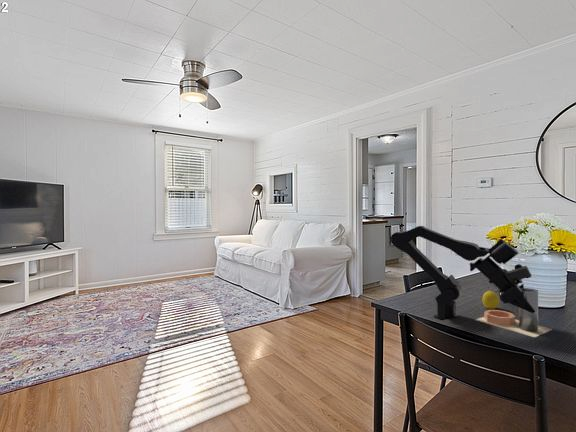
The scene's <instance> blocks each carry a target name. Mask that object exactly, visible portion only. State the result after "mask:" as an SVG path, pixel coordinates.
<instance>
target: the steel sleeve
mask: <svg viewBox="0 0 576 432" xmlns="http://www.w3.org/2000/svg"><path fill="white" fill-rule="evenodd" d="M520 289H521V290H523V296H524V298H525V299H526V300H527V301H528V302H529V304H530V305H531V306H532V307H533V309H534V310H535V312H534V313H531V312H528V311H526V310H524V309H522V308H519V307H518V320H519V328H520V329H522V330H524V331H529V332H537V331H538V326H539V289H535V288H531V287H524V288H520Z"/></svg>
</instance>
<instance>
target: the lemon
mask: <svg viewBox="0 0 576 432" xmlns="http://www.w3.org/2000/svg"><path fill="white" fill-rule="evenodd" d="M499 299H500V297H499V296H498V294H497V293H495V292H494V291H493V290H488V291H486V292H484V293H483V295H482V301H481V302H482V304H483V306H484V307H485V308H487V309H488V310H496V308H497V309H498V307H499V304H500V300H499Z"/></svg>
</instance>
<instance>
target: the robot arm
mask: <svg viewBox="0 0 576 432" xmlns="http://www.w3.org/2000/svg"><path fill="white" fill-rule="evenodd" d="M419 237H420V238H422V239H424V240H427V241H429V242H431V243H434V244H437V245H439V246H441V247H443V248H446V249H449V250H450V251H452V252H453V253H454V254H456V255H457V256H458V257H460V258H462V259H463V260H464V261H465V260H466V261H469V266H470V267H469V271H470V272H473V271H475V270H477V271H479V273H481V274H482V275H483V276H484V277H485V278H486V279H487V280H488V283H489V284H493V286H494V287H495V288H497V289H498V292H499V293H500V294H499V299H500V300H499V301H501V302H502V303H503V304H504V305H505V304H510V305H513V306H514V307H517V308H518V309H519V308H522V309H524V310H526V311H528V312H531V313H534V312H535V310H534V309H533V307H532V306H531V305H530V304H529V302H528V301H527V300H526V299H525V298H524V296H523V290H521V289H520V288H525V287H524V286H525V285H524V283H523V281H524V279H529V278H532V273H531V272H530V269H529V268H528V266H527V265H524V266H523V265H522V264H520V263H518V264H515V265H514V269H511V270H507V269H506V268H502V267H501V266H500V264H504V265H505V264H507V263H508V262H509V261H511V260H512V259H513V258H515V257H516V256H517V255H519V254H520V252H519V251H518V250H517V249H516V248H515V247H513V246H512V244H509V243H508V242H506V241H505V240H504V239H502V238H500V239H499V240H498V241H497V242H496V243H495V244H494V245H492V246H491V247H490V248H489V247H483V246H479V244H476V243H475V242H469V241H465V240H460V239H455V238H453V237H450V236H448V235H445V234H443V233H440V232H437V231H435V230H433V229H430V228H427V227H426V226H424V225H418V226H415V228H411V229H409V230H405V231H396V232H394V233H392V235H391V236H390V243H391V244H392V245H393V246H394V247H395V248H397V249H398V250H399V251H401V252H402V253H405V254H407V255H408V256H409V257H410V259H412V260H413V261H414V263H416V264H417V265H418V267H420V269H421V270H423V272H424V273H426V275H427V276H428V277H429V278H431V280H432V281H433V282H434V283H435V285H436V288H437V289H438V290H439V294H438V295H437V296H435V301H436V304H437V305H436V307H437V308H436V309H437V310H436V311H437V314H435V315H433V318H436V319H439V320H443V321H446V320H448V319H455V317H457V311H456V310H457V305H456V300H457V299H458V298H459V297H460V296H461V295H462V293H463V287H462V285H461V282H460V281H458V280H457V279H456V277H454V275H453V274H450V275H449V276H448V275H446V274H445V273H444V272H442V270H440V269H439V268H438V267H437V266H436V265H435V264H434V263H433V262H432V261H431V260H430V258H428V257H427V256H426V255H425V254H424V253H423V252H422V251H421V250H420V249H419V248H418V247H417V246H416V244H415V243H414V242H415V241H414V239H416V238H419ZM483 258H484V259H483ZM475 260H476V261H475ZM472 261H474V262H472ZM519 284H520V285H519Z"/></svg>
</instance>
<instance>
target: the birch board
mask: <svg viewBox="0 0 576 432" xmlns="http://www.w3.org/2000/svg"><path fill="white" fill-rule="evenodd" d="M475 321H477V322H481V323H483V324H487V325H491V326H494V327H498V328H501V329H504V330H508V331H511V332H514V333H517V334H520V335H525V336H528V337H532V338H537V337H539V336H541V335H544V334H547V333H548V332H551V331H553V328H549V327H546V326H541V325H538V331H537V332H529V331H524V330H522V329H520V328H519V319H516V318H515V324H513V325H510V326H508V325H497V324H494V323H490V322H487V321H486V320H485V319H484V316H482V317H478V318H476V319H475Z"/></svg>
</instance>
